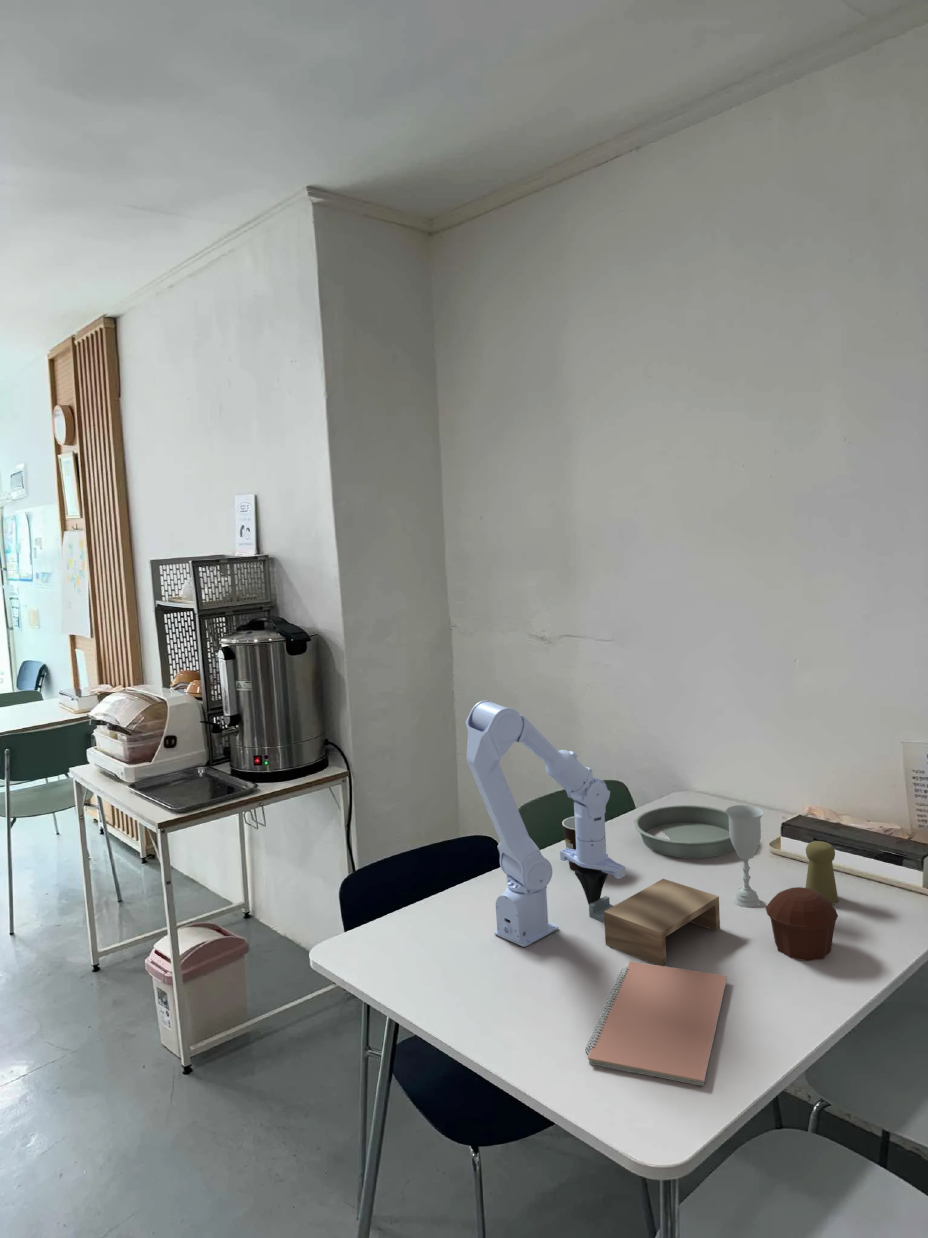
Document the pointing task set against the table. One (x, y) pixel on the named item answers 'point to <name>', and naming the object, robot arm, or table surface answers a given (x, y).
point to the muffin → (802, 923)
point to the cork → (821, 870)
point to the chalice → (745, 846)
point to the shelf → (658, 918)
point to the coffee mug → (570, 837)
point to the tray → (599, 908)
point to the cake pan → (686, 831)
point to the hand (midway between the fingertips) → (593, 903)
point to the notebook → (659, 1022)
